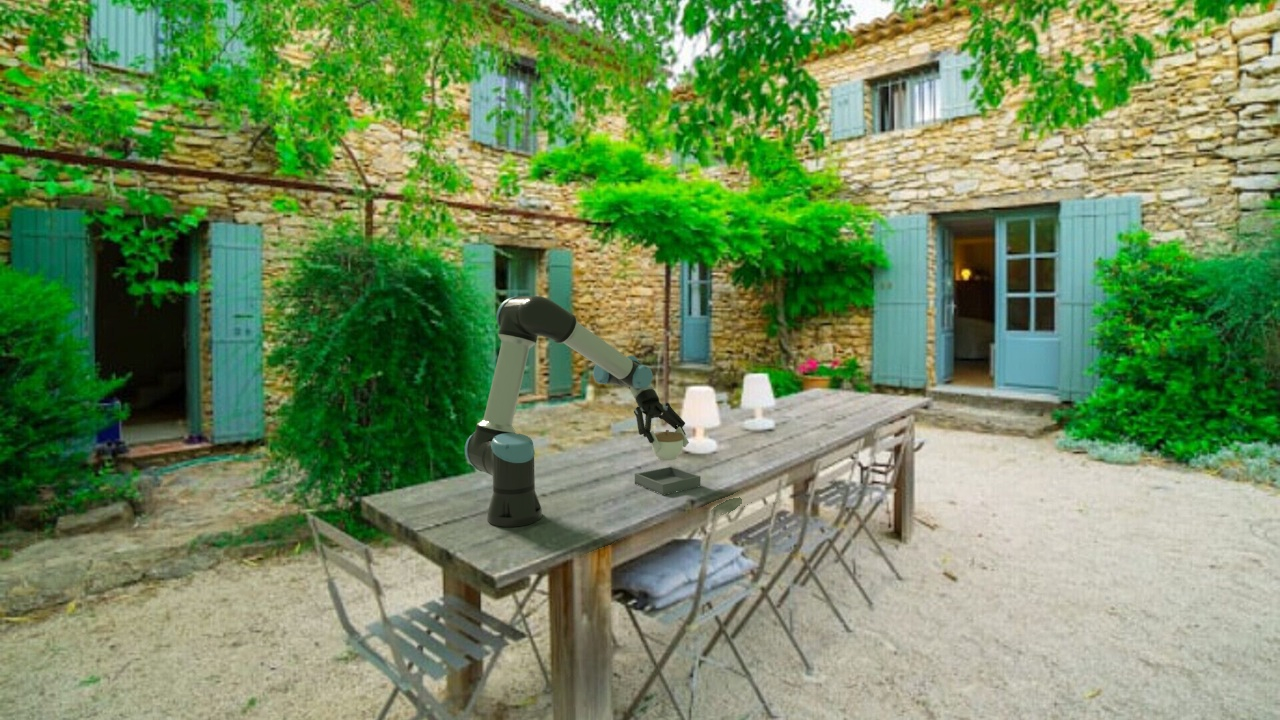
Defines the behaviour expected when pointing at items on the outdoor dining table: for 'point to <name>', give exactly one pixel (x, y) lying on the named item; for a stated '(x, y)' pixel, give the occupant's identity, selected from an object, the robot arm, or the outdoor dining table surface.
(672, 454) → the lidded jar
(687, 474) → the bin
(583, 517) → the outdoor dining table surface
